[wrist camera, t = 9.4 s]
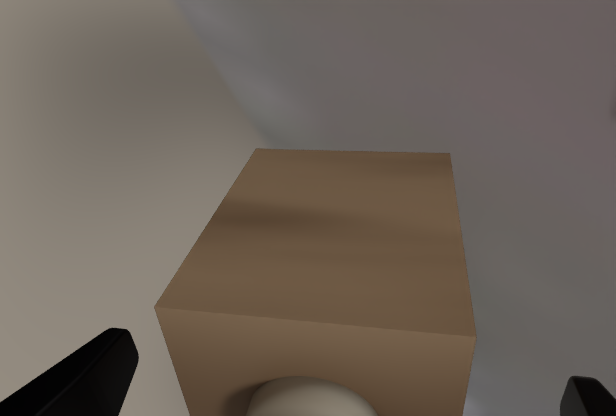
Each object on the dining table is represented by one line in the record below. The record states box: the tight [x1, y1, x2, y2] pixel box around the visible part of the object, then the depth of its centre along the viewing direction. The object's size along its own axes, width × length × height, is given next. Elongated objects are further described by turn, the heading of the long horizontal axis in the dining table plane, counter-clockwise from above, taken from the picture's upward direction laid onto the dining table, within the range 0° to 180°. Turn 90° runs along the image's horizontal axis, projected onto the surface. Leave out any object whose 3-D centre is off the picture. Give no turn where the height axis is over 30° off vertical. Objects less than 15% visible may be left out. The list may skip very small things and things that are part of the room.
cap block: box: [154, 148, 477, 416], centre depth 11 cm, size 5×5×7 cm
